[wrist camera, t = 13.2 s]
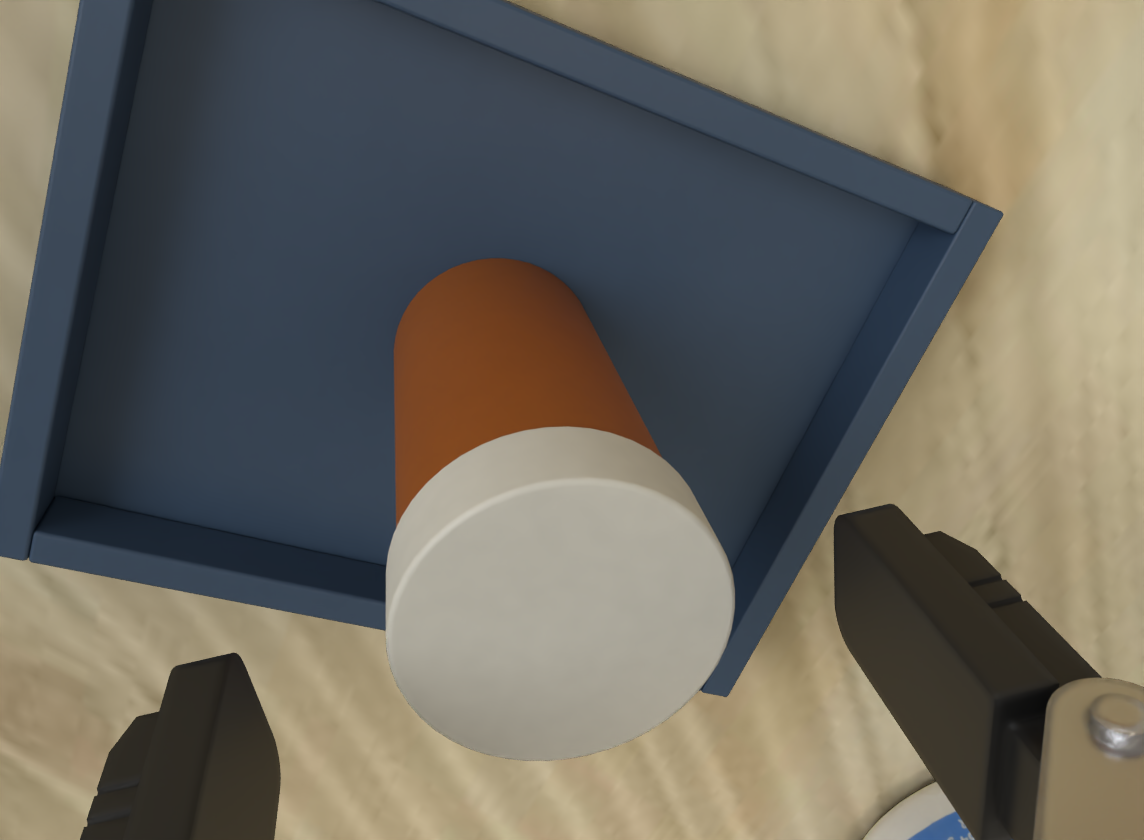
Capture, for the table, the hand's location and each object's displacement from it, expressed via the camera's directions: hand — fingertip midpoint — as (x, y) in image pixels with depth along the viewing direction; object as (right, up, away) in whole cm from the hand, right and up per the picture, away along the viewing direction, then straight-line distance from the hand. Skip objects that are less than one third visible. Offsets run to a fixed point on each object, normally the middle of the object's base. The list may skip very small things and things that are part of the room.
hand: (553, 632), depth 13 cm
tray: (-2, +5, +9) cm, 10 cm away
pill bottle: (-1, +4, +8) cm, 9 cm away
